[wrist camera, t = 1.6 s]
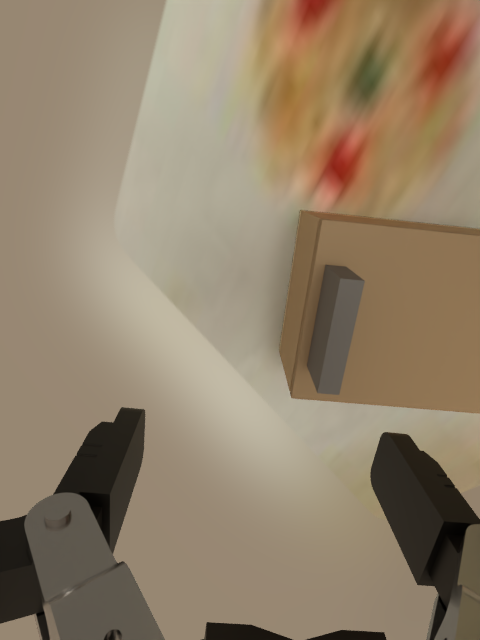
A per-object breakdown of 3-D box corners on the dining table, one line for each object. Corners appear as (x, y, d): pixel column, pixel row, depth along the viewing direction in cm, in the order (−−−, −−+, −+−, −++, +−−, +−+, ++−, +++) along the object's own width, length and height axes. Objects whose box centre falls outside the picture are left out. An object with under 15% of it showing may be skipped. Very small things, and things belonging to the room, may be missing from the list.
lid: (593, 247, 27) (666, 260, 22) (522, 411, 32) (570, 450, 27) (319, 218, 26) (337, 226, 21) (290, 392, 31) (299, 429, 26)
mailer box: (512, 232, 34) (589, 246, 27) (465, 366, 39) (520, 409, 32) (300, 210, 34) (319, 218, 26) (279, 350, 38) (289, 390, 31)
